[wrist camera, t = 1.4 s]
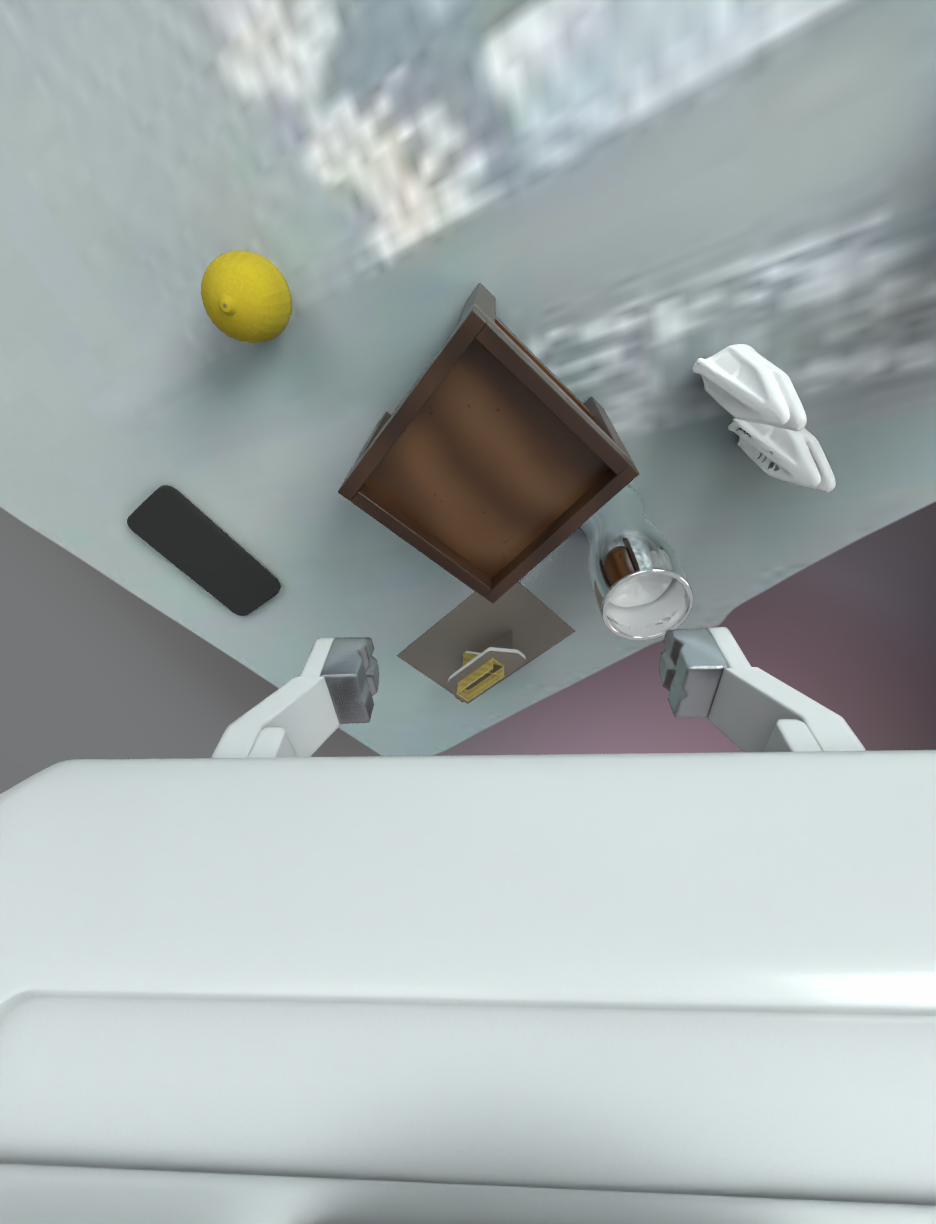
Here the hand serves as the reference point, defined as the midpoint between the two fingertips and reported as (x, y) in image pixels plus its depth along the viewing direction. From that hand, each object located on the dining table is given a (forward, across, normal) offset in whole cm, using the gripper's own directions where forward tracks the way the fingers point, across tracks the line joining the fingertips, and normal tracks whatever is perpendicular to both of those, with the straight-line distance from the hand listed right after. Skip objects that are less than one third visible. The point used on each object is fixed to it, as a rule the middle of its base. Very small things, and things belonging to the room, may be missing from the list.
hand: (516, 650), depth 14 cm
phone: (+35, +31, +16) cm, 50 cm away
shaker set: (+35, -20, +3) cm, 40 cm away
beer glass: (+35, -10, +13) cm, 39 cm away
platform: (+35, +3, +30) cm, 46 cm away
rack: (+35, +1, +4) cm, 35 cm away
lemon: (+35, +18, -7) cm, 40 cm away
